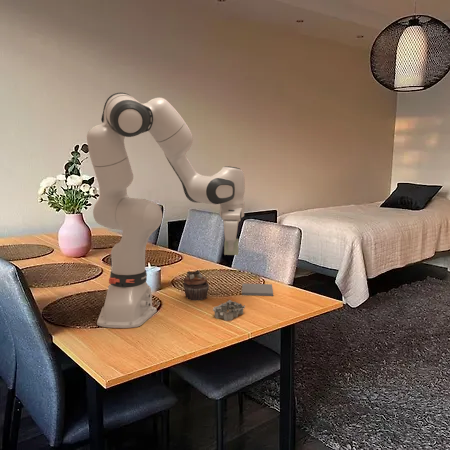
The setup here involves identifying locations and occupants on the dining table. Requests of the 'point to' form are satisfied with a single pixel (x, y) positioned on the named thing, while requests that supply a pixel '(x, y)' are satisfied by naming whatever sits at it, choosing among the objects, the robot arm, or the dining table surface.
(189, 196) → the robot arm
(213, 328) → the dining table surface
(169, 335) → the dining table surface
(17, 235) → the dining table surface
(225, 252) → the cube
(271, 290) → the slate plate
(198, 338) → the dining table surface
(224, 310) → the egg carton
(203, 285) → the cupcake
